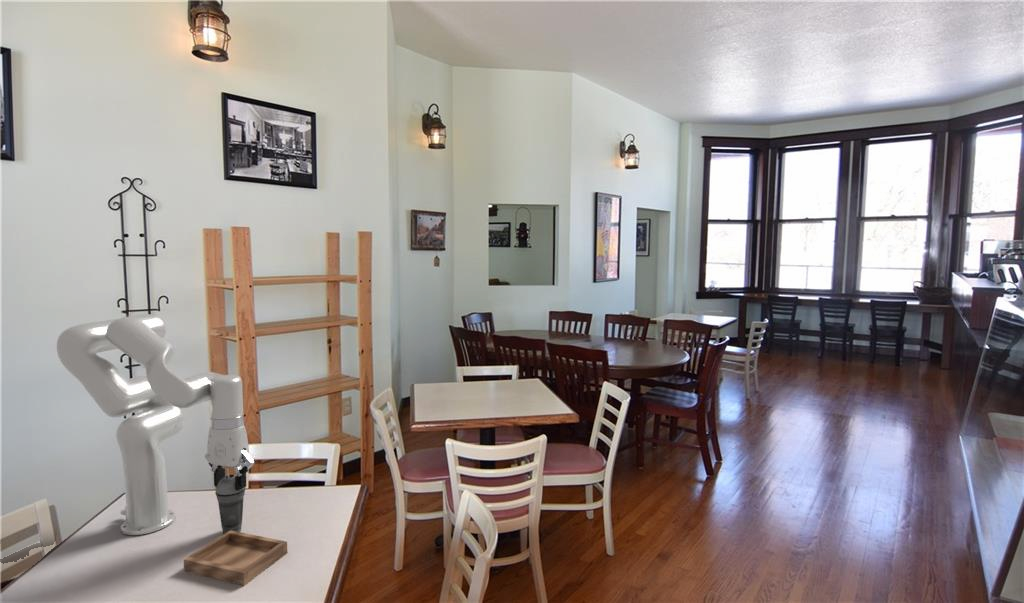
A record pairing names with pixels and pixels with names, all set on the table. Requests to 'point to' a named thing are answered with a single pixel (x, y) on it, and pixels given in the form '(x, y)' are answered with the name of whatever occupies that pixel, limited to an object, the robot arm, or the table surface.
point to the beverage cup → (230, 503)
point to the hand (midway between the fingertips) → (230, 486)
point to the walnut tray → (235, 557)
